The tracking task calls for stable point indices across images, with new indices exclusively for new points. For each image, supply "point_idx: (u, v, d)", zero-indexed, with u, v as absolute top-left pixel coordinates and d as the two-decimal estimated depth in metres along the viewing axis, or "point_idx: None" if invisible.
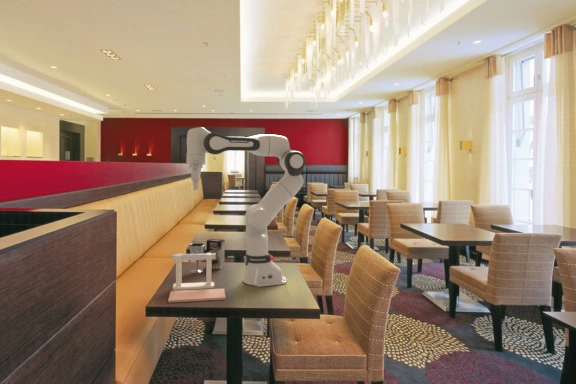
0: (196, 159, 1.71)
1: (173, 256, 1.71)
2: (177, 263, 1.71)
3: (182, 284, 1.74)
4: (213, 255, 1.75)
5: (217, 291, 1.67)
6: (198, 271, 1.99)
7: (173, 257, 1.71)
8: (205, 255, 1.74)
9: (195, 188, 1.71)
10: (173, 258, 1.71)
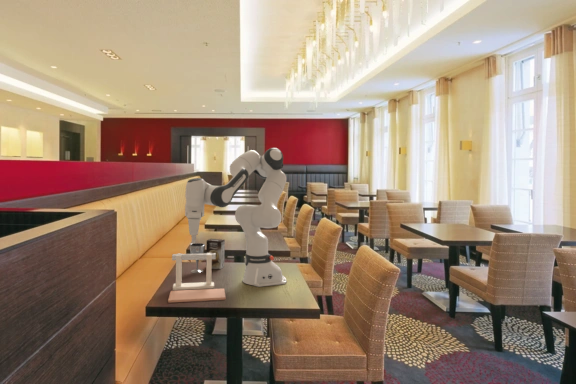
0: None
1: (173, 256, 1.71)
2: (177, 263, 1.71)
3: (182, 284, 1.74)
4: (213, 255, 1.75)
5: (217, 291, 1.67)
6: (198, 271, 1.99)
7: (173, 257, 1.71)
8: (205, 255, 1.74)
9: None
10: (173, 258, 1.71)
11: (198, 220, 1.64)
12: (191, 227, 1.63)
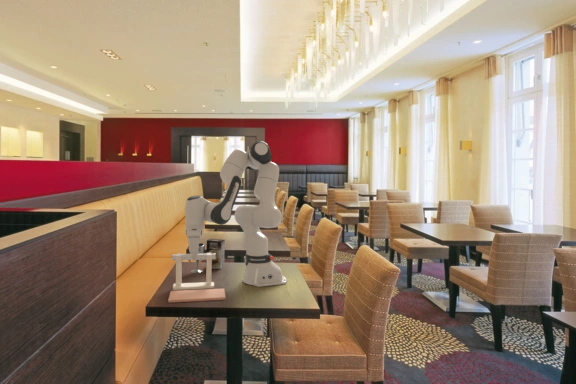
0: None
1: (173, 256, 1.71)
2: (177, 263, 1.71)
3: (182, 284, 1.74)
4: (213, 255, 1.75)
5: (217, 291, 1.67)
6: (198, 271, 1.99)
7: (173, 257, 1.71)
8: (205, 255, 1.74)
9: None
10: (173, 258, 1.71)
11: (198, 238, 1.65)
12: (191, 246, 1.64)
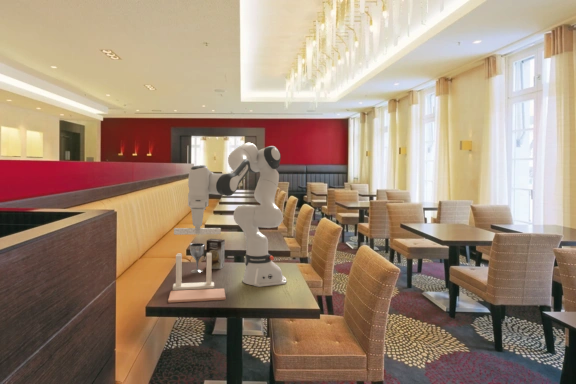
0: None
1: (175, 230, 1.58)
2: (177, 263, 1.71)
3: (182, 284, 1.74)
4: (218, 230, 1.62)
5: (217, 291, 1.67)
6: (198, 271, 1.99)
7: (175, 231, 1.58)
8: (209, 229, 1.61)
9: None
10: (175, 232, 1.58)
11: (202, 210, 1.52)
12: (194, 217, 1.51)
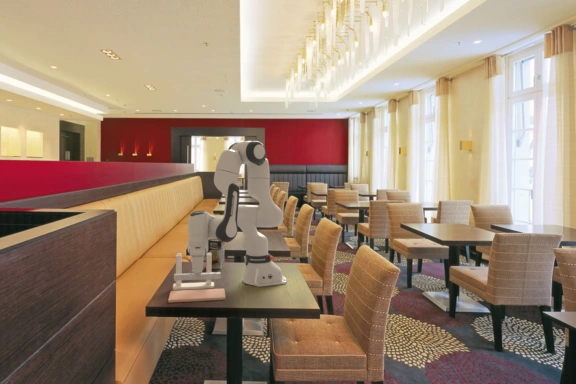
0: None
1: (175, 276, 1.59)
2: (177, 263, 1.71)
3: (182, 284, 1.74)
4: (218, 274, 1.63)
5: (217, 291, 1.67)
6: None
7: (175, 277, 1.59)
8: (209, 274, 1.62)
9: None
10: (175, 278, 1.59)
11: (202, 258, 1.53)
12: (194, 266, 1.52)
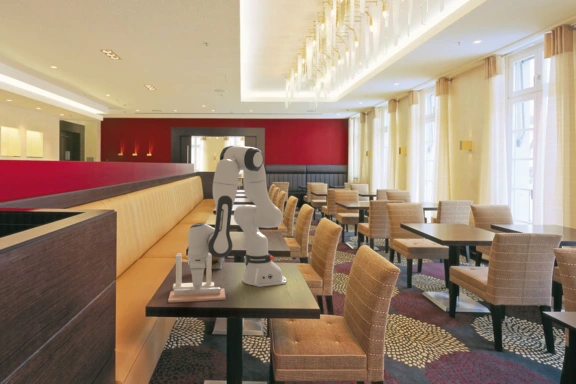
0: None
1: (175, 291, 1.59)
2: (177, 263, 1.71)
3: (182, 284, 1.74)
4: (218, 289, 1.63)
5: None
6: None
7: (175, 292, 1.59)
8: (209, 290, 1.62)
9: None
10: (175, 294, 1.59)
11: (202, 270, 1.53)
12: (194, 278, 1.52)
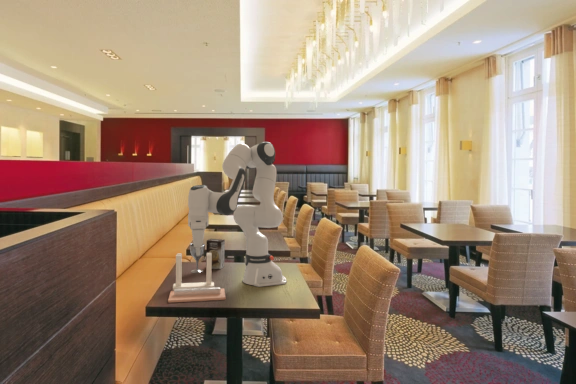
0: None
1: (175, 291, 1.59)
2: (177, 263, 1.71)
3: (182, 284, 1.74)
4: (218, 289, 1.63)
5: None
6: (198, 271, 1.99)
7: (175, 292, 1.59)
8: (209, 290, 1.62)
9: None
10: (175, 294, 1.59)
11: (202, 231, 1.53)
12: (195, 239, 1.52)
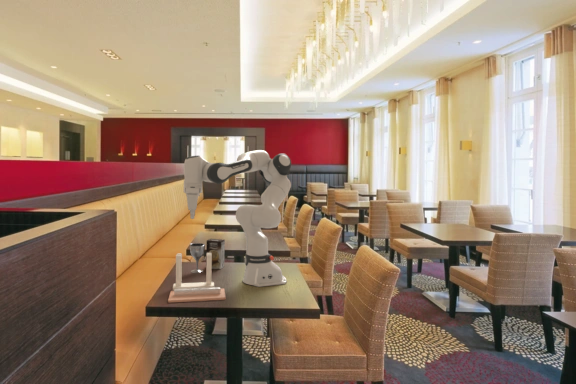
0: None
1: (175, 291, 1.59)
2: (177, 263, 1.71)
3: (182, 284, 1.74)
4: (218, 289, 1.63)
5: None
6: (198, 271, 1.99)
7: (175, 292, 1.59)
8: (209, 290, 1.62)
9: None
10: (175, 294, 1.59)
11: (196, 195, 1.68)
12: (189, 202, 1.67)
